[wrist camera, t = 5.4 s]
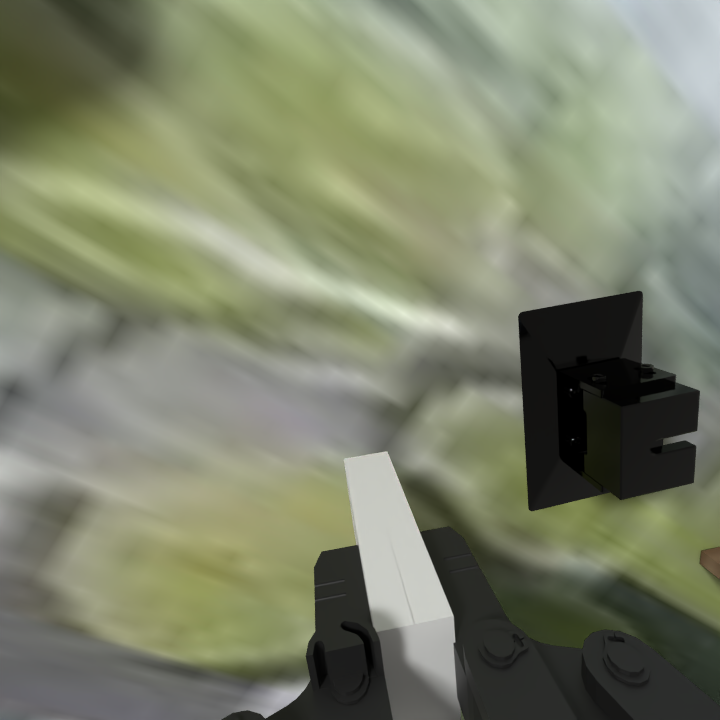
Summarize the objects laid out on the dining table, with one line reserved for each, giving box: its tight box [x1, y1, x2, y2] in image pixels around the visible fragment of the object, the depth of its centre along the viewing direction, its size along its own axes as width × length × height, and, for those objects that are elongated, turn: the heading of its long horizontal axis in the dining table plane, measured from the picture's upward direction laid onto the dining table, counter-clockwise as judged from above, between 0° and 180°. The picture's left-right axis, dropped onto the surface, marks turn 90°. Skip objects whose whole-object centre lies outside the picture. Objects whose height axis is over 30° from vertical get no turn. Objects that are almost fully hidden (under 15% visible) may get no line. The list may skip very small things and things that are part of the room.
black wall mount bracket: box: [518, 291, 700, 511], centre depth 16 cm, size 12×7×5 cm, turn 9°
